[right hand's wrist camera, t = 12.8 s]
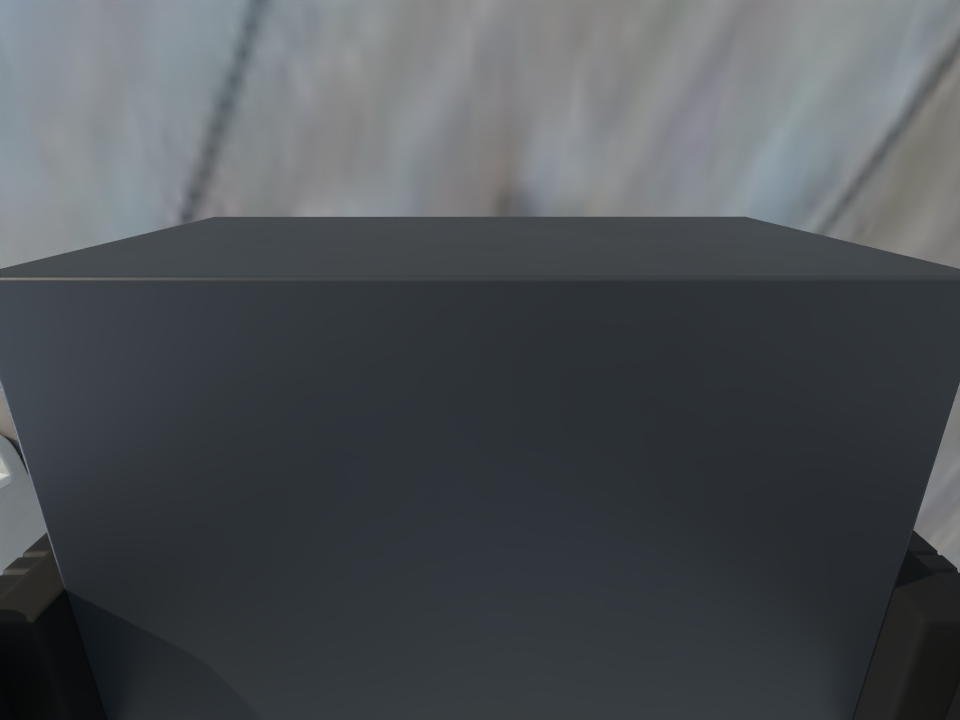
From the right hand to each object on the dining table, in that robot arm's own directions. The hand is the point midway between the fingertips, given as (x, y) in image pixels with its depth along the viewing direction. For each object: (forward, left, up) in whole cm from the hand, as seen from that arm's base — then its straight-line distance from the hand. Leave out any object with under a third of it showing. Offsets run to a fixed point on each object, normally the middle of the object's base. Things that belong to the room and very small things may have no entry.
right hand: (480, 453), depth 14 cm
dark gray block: (0, 0, 0) cm, 0 cm away
